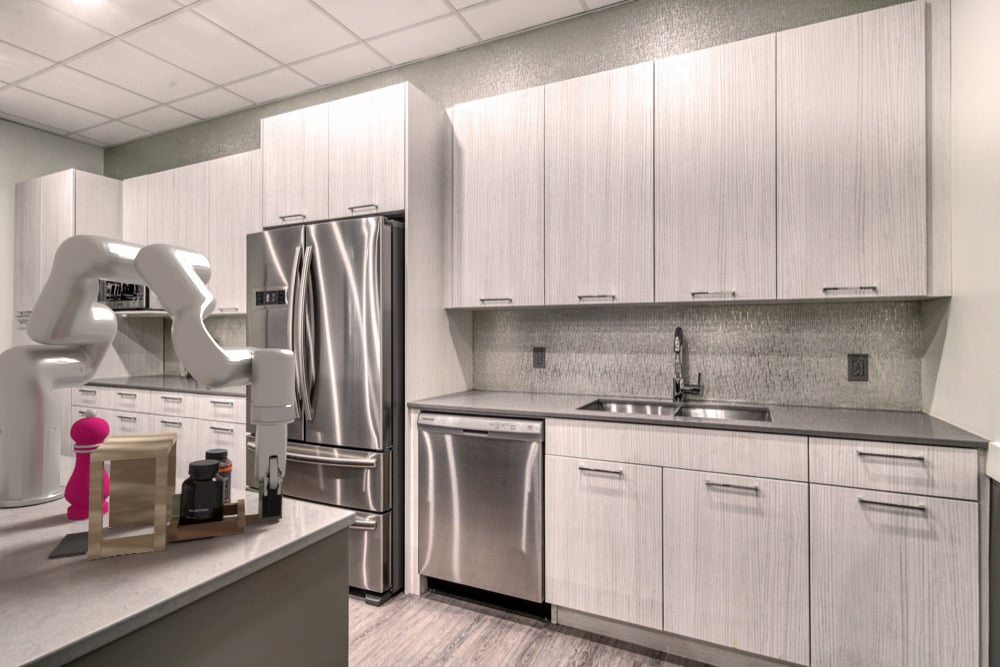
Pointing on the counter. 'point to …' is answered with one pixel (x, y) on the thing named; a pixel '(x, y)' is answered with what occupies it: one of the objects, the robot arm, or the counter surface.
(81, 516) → the pepper mill
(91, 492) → the tunnel
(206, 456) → the supplement bottle
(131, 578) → the counter surface
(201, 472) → the supplement bottle
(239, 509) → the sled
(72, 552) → the mat
